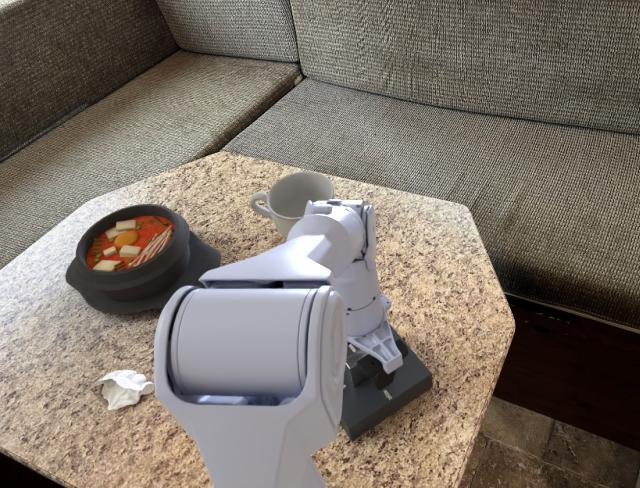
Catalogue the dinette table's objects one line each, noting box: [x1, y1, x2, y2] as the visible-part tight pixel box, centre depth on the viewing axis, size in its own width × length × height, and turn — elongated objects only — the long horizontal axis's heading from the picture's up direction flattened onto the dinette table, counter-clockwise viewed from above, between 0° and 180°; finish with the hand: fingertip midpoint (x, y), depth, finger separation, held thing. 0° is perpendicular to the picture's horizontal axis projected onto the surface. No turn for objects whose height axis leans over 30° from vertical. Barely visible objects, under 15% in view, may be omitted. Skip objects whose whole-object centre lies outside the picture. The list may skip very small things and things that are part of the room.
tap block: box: [339, 323, 434, 442], centre depth 76 cm, size 12×10×3 cm
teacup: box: [249, 170, 336, 239], centre depth 98 cm, size 14×11×8 cm
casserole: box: [64, 203, 222, 315], centre depth 93 cm, size 25×19×8 cm
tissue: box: [83, 369, 155, 411], centre depth 78 cm, size 6×8×4 cm
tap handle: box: [345, 349, 369, 387], centre depth 74 cm, size 6×2×4 cm, turn 124°
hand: (367, 361), depth 74 cm, fingers open, 7 cm apart
